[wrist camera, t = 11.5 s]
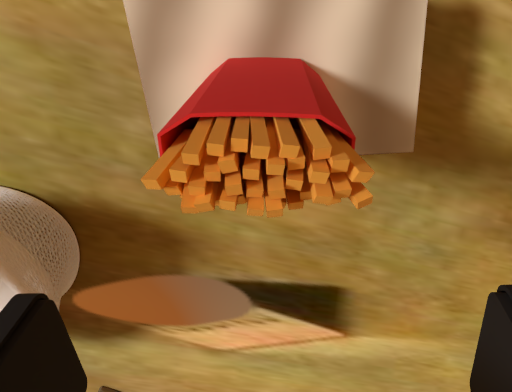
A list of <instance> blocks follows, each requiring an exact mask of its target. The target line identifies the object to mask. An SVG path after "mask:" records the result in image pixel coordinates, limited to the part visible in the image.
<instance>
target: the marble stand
mask: <svg viewBox="0 0 512 392" xmlns="http://www.w3.org/2000/svg"><path fill="white" fill-rule="evenodd" d="M427 2H428V0H123V3H124V7H125V11H126V16H127V20H128V24H129V29H130V33H131V38H132V42H133V46H134V51H135V55H136V60H137V64H138V68H139V73H140V77H141V81H142V86H143V90H144V95H145V99H146V103H147V108H148V112H149V117H150V121H151V125H152V130H153V134H154V138H155V143H156V147H157V152H158V156H159V158H160V153H159V145H158V138H157V134H158V133H159V132H160V131H161V129H162V128H163V127H164V126H165V125H166V124H167V123H168V121H169V120H170V119H171V118H172V117H173V116H174V115H175V113H176V112H177V111H178V110H179V109H180V108H181V107H182V105H183V104H184V103H185V102H186V101H187V100H188V99H189V98H190V96H191V95H192V94H193V93H194V92H195V91H196V90H197V88H198V87H199V86H200V85H201V84H202V83H203V82H204V80H205V79H206V78H207V77H208V76H209V75H210V74H211V73H212V72H213V71H214V70H215V69H217V68H218V67H219V66H220V65H221V64H223V63H224V62H225V61H226V60H227V59H229V58H250V57H272V58H296V59H301V60H302V61H304V62H305V63H306V64H307V65H308V66H309V67H311V68H312V69H313V70H314V71H315V72H316V73H318V74H319V75H320V77H321V79H322V80H323V82H324V84H325V86H326V87H327V89H328V91H329V92H330V94H331V96H332V97H333V99H334V101H335V103H336V104H337V106H338V108H339V109H340V111H341V113H342V115H343V116H344V118H345V120H346V121H347V123H348V125H349V126H350V128H351V130H352V132H353V133H354V135H355V137H356V141H355V151H356V152H357V154H358V155H367V154H385V153H403V152H413V150H414V140H415V129H416V119H417V108H418V97H419V87H420V76H421V66H422V55H423V45H424V34H425V23H426V13H427Z"/></svg>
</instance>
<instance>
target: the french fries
mask: <svg viewBox="0 0 512 392" xmlns="http://www.w3.org/2000/svg"><path fill="white" fill-rule="evenodd" d="M157 138H158V145H159V153H160V158H159V159H158V160H157V162H156V163H155V164H154V165H153V166H152V167H151V168H150V169H149V171H148V172H147V173H146V174H145V175H144V176H143V177H142V178H141V181H142V182H143V184H144V185H145V186H146V188H147V189H160V190H162V189H164V191H165V192H166V193H167V195H180V198H181V199H182V203H181V210H182V213H198V212H206V211H212V210H214V209H215V206H220V209H225V210H232V211H235V209H236V206H237V204H244V203H246V202H247V215H252V216H263V212H264V198H265V205H266V212H267V218H270V217H278V216H283V208H285V205H286V203H287V204H288V208H289V210H291V209H300V208H303V203H304V201H303V200H308V199H312V201H313V203H322V204H326V206H327V205H331V204H335V203H339V202H341V198H345V197H349V199H350V200H351V201H352V203H353V204H354V205H355V207H356V208H357V209H360V208H362V207H364V206H366V205H369V204H371V203H372V198H373V196H372V195H371V193H370V192H369V191H368V190H367V189H366V188H365V187H364V185H363V184H362V183H361V182H365V183H367V182H368V181H369V179H370V178H371V177H372V176H373V174H374V173H375V172H374V171H373V170H372V169H371V167H370V166H369V165H368V164H367V163H366V162H365V161H364V160H363V159H362V158H361V157H360V156H359V155H358V154H357V152H356V151H355V141H356V137H355V135H354V133H353V132H352V130H351V128H350V126H349V125H348V123H347V121H346V120H345V118H344V116H343V115H342V113H341V111H340V109H339V108H338V106H337V104H336V103H335V101H334V99H333V97H332V96H331V94H330V92H329V91H328V89H327V87H326V86H325V84H324V82H323V80H322V79H321V77H320V75H319V74H318V73H316V72H315V71H314V70H313V69H312V68H311V67H309V66H308V65H307V64H306V63H305V62H304V61H302V60H301V59H296V58H272V57H250V58H229V59H227V60H226V61H225V62H224V63H223V64H221V65H220V66H219V67H218V68H217V69H215V70H214V71H213V72H212V73H211V74H210V75H209V76H208V77H207V78H206V79H205V80H204V82H203V83H202V84H201V85H200V86H199V87H198V88H197V90H196V91H195V92H194V93H193V94H192V95H191V96H190V98H189V99H188V100H187V101H186V102H185V103H184V104H183V105H182V107H181V108H180V109H179V110H178V111H177V112H176V113H175V115H174V116H173V117H172V118H171V119H170V120H169V121H168V123H167V124H166V125H165V126H164V127H163V128H162V129H161V131H160V132H159V133H158V134H157ZM263 190H264V192H263ZM286 199H287V202H286Z"/></svg>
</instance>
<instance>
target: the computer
mask: <svg viewBox="0 0 512 392" xmlns="http://www.w3.org/2000/svg"><path fill="white" fill-rule="evenodd" d="M98 392H119V391H115V390H112V389H109V388H106V387H103V386H102V387H101V388H100V389H99V391H98Z"/></svg>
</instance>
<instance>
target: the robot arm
mask: <svg viewBox="0 0 512 392" xmlns="http://www.w3.org/2000/svg"><path fill="white" fill-rule="evenodd" d="M86 389H87V377H86V375H85V372H84V370H83V368H82V365H81V363H80V360H79V358H78V356H77V353H76V351H75V349H74V346H73V344H72V342H71V339H70V337H69V335H68V332H67V330H66V328H65V325H64V323H63V320H62V318H61V316H60V313H59V311H58V309H57V306H56V304H55V302H54V301H53V300H49V298H48V296H47V295H45V294H44V293H22V294H16V295H14V296H13V297H12V298H11V299H10V301H9V302H8V303H7V304H6V306H5V307H4V308H3V309H2V311H1V312H0V392H86ZM470 389H471V392H512V285H500V286H499V287H498V289H497V292H492V293H490V294H489V296H488V300H487V304H486V309H485V314H484V318H483V323H482V327H481V332H480V336H479V341H478V345H477V350H476V354H475V359H474V364H473V368H472V373H471V377H470Z"/></svg>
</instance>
